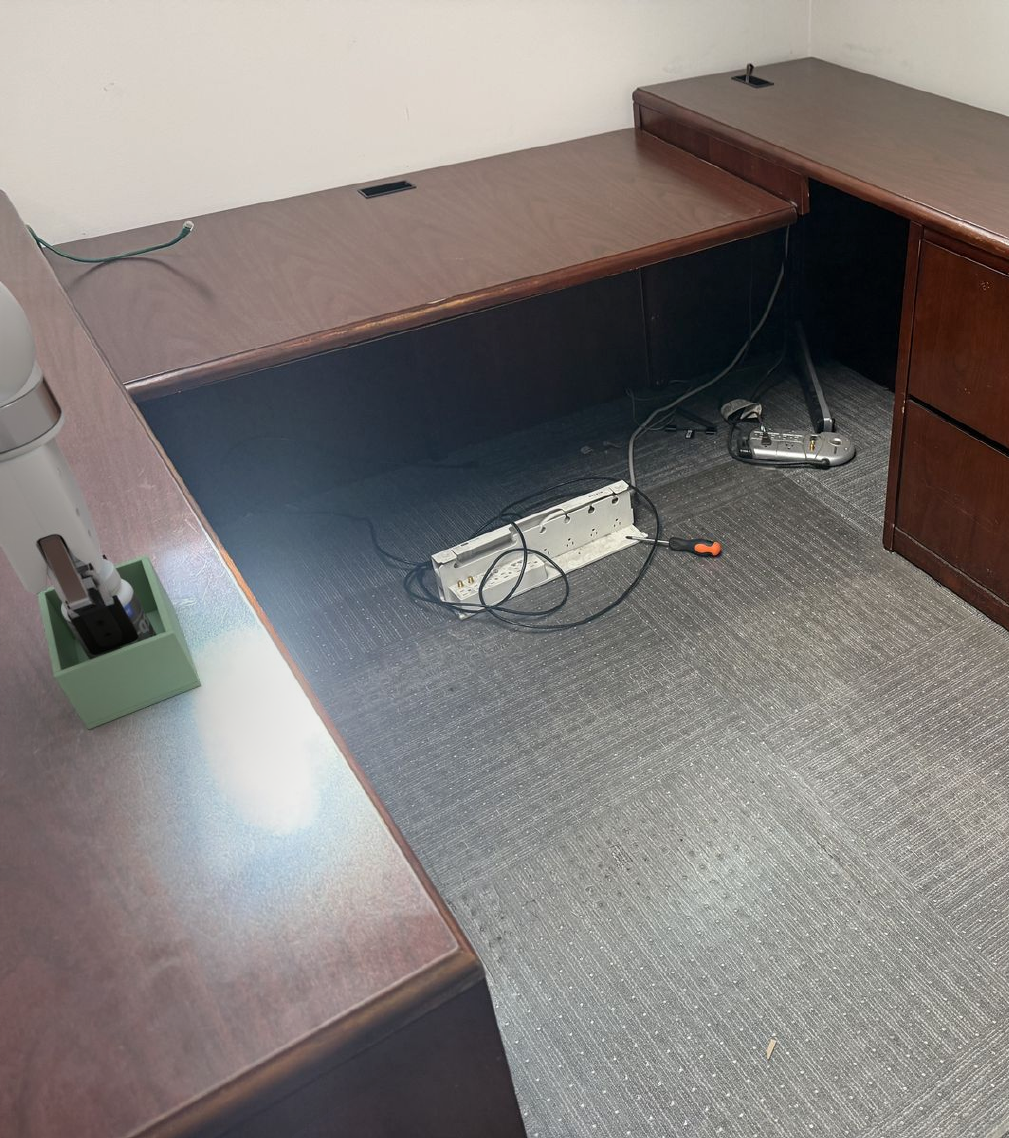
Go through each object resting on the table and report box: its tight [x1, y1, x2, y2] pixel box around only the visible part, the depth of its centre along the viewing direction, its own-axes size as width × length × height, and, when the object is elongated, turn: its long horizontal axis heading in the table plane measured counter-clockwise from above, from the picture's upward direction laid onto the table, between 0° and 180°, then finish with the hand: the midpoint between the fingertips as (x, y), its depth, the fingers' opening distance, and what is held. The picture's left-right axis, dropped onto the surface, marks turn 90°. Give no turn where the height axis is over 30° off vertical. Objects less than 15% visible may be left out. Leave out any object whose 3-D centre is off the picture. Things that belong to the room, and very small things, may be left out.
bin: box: [36, 554, 202, 730], centre depth 79 cm, size 11×8×6 cm
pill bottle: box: [54, 559, 157, 660], centre depth 77 cm, size 5×5×8 cm
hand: (108, 622), depth 77 cm, fingers closed on pill bottle, 4 cm apart
